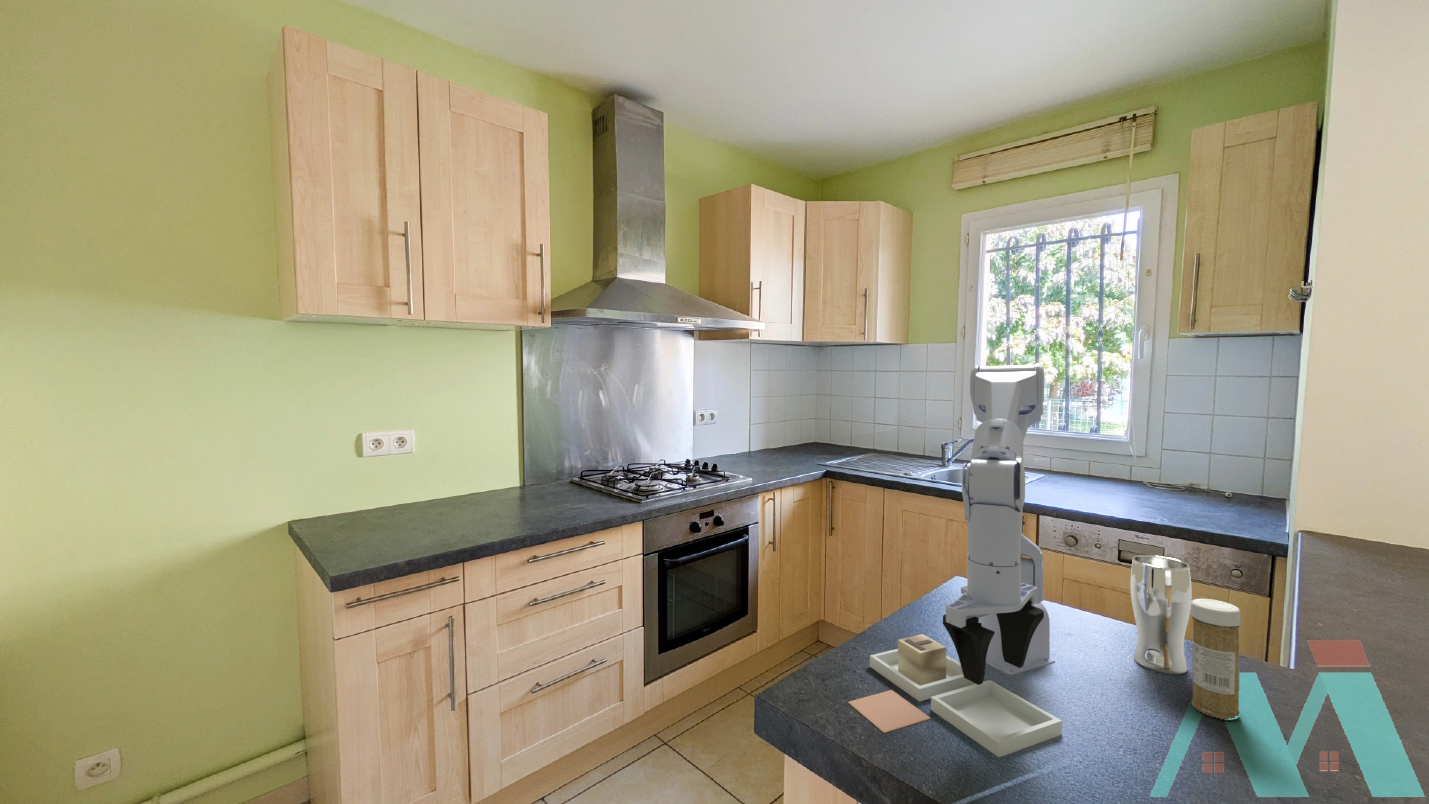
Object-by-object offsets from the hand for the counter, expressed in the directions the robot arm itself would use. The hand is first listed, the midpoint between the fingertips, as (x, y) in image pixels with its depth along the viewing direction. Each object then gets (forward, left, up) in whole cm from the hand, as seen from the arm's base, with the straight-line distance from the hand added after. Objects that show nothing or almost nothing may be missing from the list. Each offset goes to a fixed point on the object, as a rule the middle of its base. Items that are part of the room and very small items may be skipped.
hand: (993, 672), depth 68 cm
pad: (+10, -7, -6) cm, 14 cm away
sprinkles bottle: (-27, +9, -7) cm, 29 cm away
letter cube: (0, -12, -6) cm, 13 cm away
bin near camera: (0, 0, -6) cm, 6 cm away
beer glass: (-34, -1, -7) cm, 35 cm away
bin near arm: (0, -12, -6) cm, 14 cm away
